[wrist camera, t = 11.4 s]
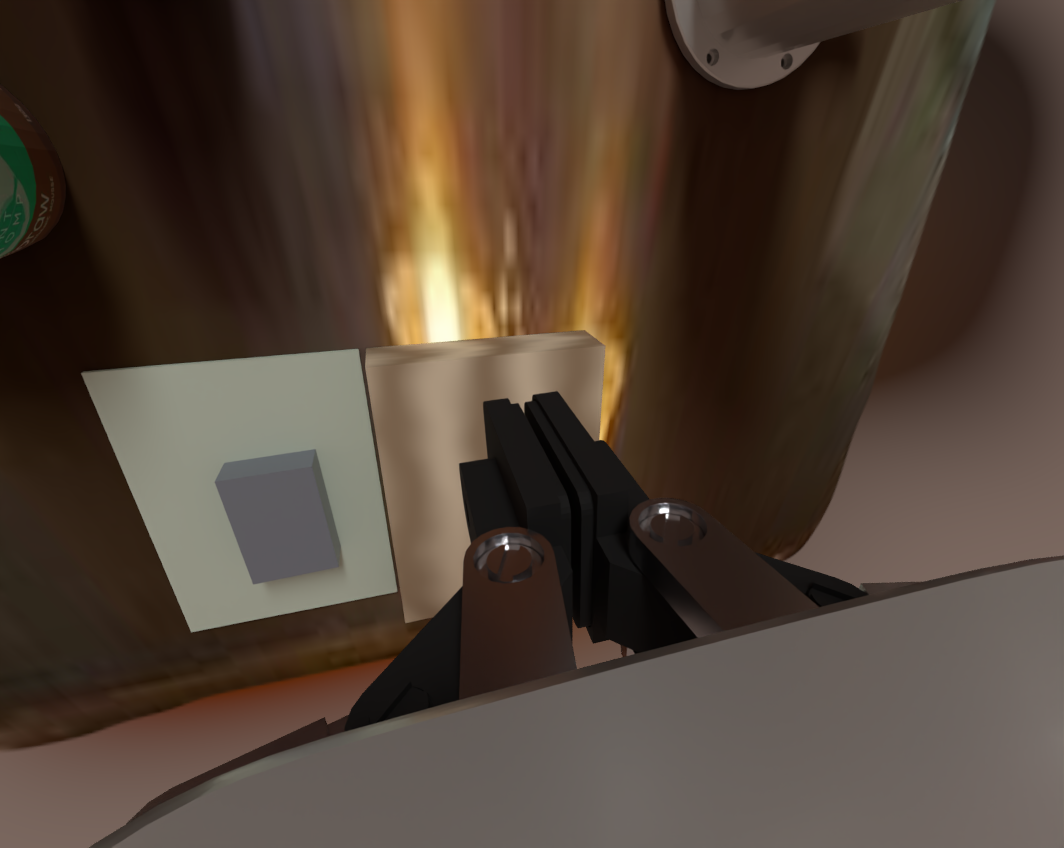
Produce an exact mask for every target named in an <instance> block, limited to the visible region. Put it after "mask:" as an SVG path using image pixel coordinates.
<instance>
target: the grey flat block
mask: <svg viewBox="0 0 1064 848" xmlns="http://www.w3.org/2000/svg"><path fill="white" fill-rule="evenodd" d="M215 485H216V487H217V490H218V493H219V495H220V498H221V501H222V503H223V506H224V508H225V511H226V514H227V516H228V519H229V522H230V524H231V527H232V530H233V532H234V535H235V538H236V540H237V543H238V546H239V548H240V551H241V554H242V556H243V559H244V562H245V564H246V567H247V570H248V572H249V575H250V577H251V580H252V583H253V585H254V584H259V583H264V582H269V581H273V580H278V579H283V578H288V577H293V576H298V575H303V574H308V573H313V572H318V571H323V570H328V569H332V568H337V567H339V561H340V549H341V545H340V541H339V537H338V534H337V530H336V526H335V522H334V518H333V514H332V510H331V507H330V503H329V499H328V495H327V491H326V487H325V483H324V480H323V476H322V472H321V468H320V464H319V460H318V456H317V453H316V449H313V450H306V451H299V452H293V453H286V454H280V455H273V456H266V457H260V458H253V459H246V460H240V461H233V462H227V463H224V464H223V466H222V468H221V470H220V472H219V474H218V476H217V478H216V480H215Z"/></svg>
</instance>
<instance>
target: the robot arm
mask: <svg viewBox="0 0 1064 848" xmlns="http://www.w3.org/2000/svg"><path fill="white" fill-rule="evenodd" d="M958 1H962V0H665V5H666V12H667V16H668V19H669V23H670V26H671V29H672V32H673V36H674V38H675V40H676V42H677V44H678V46H679V48H680V50H681V52H682V54H683V55H684V57H685V58H686V59H687V60H688V62H689V63H690V64H691V66H692V67H693V68H694V69H695V70H696V71H697V72H698V73H699V74H701V75H702V76H703V77H704V78H705V79H707V80H708V81H710V82H712V83H714V84H716V85H718V86H721V87H724V88H729V89H735V90H743V89H754V88H758V87H761V86H765V85H769V84H772V83H774V82H776V81H778V80H780V79H782V78H784V77H786V76H787V75H789V74H790V73H791V72H793V71H794V70H795V69H797V68H798V67H799V66H800V65H801V64H802V63H803V62H804V61H805V60H806V59H807V58H808V57H809V56H810V55H811V54H812V53H813V52H814V51H815V49H816V48H817V46H818V45H819V43H820V42H821V41H824V40H828V39H831V38H835V37H838V36H842V35H845V34H848V33H852V32H855V31H859V30H862V29H866V28H869V27H872V26H876V25H879V24H883V23H886V22H890V21H893V20H897V19H900V18H903V17H907V16H910V15H914V14H917V13H921V12H924V11H927V10H931V9H934V8H938V7H941V6H945V5H948V4H952V3H955V2H958ZM707 59H708V61H707ZM483 413H484V424H485V435H486V446H487V457H488V459H482V460H475V461H469V462H463V463H459V472H460V480H461V488H462V496H463V503H464V510H465V516H466V522H467V527H468V532H469V537H470V542H471V544H470V546H469V547H468V549H467V550H466V552H465V556H464V560H463V586H462V587H461V588H460V589H459V590H458V591H457V592H456V593H455V595H454V596H453V597H452V598H451V599H450V600H449V601H448V602H447V603H446V604H445V605H444V606H443V607H442V609H441V610H440V611H439V612H438V613H437V614H436V615H435V616H434V617H433V618H432V619H431V620H430V621H429V623H428V624H427V625H426V626H425V627H424V628H423V629H422V630H421V631H420V632H419V633H418V634H417V635H416V637H415V638H414V639H413V640H412V641H411V642H410V643H409V644H408V645H407V646H406V647H405V648H404V649H403V651H402V652H401V653H400V654H399V655H398V656H397V657H396V658H395V659H394V660H393V662H391V663H390V665H389V666H388V667H387V668H386V669H385V670H384V671H383V672H382V673H381V674H380V675H379V676H378V677H377V679H376V680H375V681H374V682H373V683H372V684H371V685H370V686H369V687H368V688H367V689H366V690H365V692H364V693H363V694H362V695H361V696H360V698H359V699H358V701H357V702H356V703H355V705H354V706H353V707H352V709H351V712H350V714H349V715H348V716H345V717H343V718H341V719H339V720H337V721H335V722H332V723H330V724H328V725H327V723H326V720H325V717H324V718H322V719H320V720H318V721H316V722H313V723H311V724H309V725H307V726H305V727H302V728H300V729H298V730H296V731H294V732H292V733H290V734H287V735H285V736H283V737H281V738H279V739H277V740H274V741H272V742H270V743H268V744H266V745H264V746H261V747H259V748H257V749H255V750H253V751H251V752H249V753H246V754H244V755H242V756H240V757H238V758H236V759H233V760H231V761H229V762H227V763H225V764H222V765H220V766H218V767H216V768H214V769H212V770H209V771H207V772H205V773H203V774H201V775H199V776H197V777H194V778H192V779H190V780H188V781H186V782H184V783H181V784H179V785H177V786H175V787H173V788H171V789H169V790H168V791H166V792H164V793H163V794H162V795H160V796H158V797H156V798H155V799H153V800H151V801H150V802H149V803H147V804H146V805H145V806H144V807H143V808H142V809H141V810H140V811H139V812H138V813H137V814H136V815H135V816H134V817H133V818H132V819H131V820H130V821H129V822H128V823H127V824H126V825H125V826H123V827H121V828H120V829H118V830H116V831H115V832H113V833H111V834H110V835H108V836H106V837H105V838H103V839H102V840H100V841H98V842H96V843H95V844H93V845H92V846H91V847H89V848H1064V556H1056V557H1046V558H1037V559H1029V560H1024V561H1018V562H1014V563H1009V564H1004V565H998V566H992V567H987V568H981V569H977V570H972V571H968V572H964V573H959V574H955V575H950V576H946V577H942V578H938V579H933V580H929V581H924V582H897V583H896V582H895V583H863V584H861V585H860V587H859V588H857V587H855V586H854V585H852V584H850V583H847V582H845V581H842V580H840V579H837V578H835V577H831V576H828V575H825V574H822V573H819V572H815V571H813V570H809V569H806V568H803V567H800V566H797V565H793V564H790V563H787V562H784V561H781V560H778V559H774V558H771V557H768V556H765V555H762V554H758V553H755V552H754V551H752V550H751V549H750V548H749V547H748V546H746V545H745V544H744V543H743V542H742V541H741V540H739V539H738V538H737V537H736V536H735V535H733V534H732V533H731V532H730V531H729V530H728V529H726V528H725V527H724V526H723V525H722V524H721V523H719V522H718V521H717V520H716V519H715V518H713V517H712V516H711V515H710V514H709V513H708V512H706V511H705V510H703V509H702V508H700V507H699V506H697V505H695V504H692V503H690V502H687V501H684V500H679V499H674V498H656V499H651V500H650V499H649V498H648V497H647V495H646V494H645V493H644V491H643V490H642V489H641V488H640V486H639V485H638V484H637V482H636V481H635V480H634V478H633V477H632V476H631V475H630V473H629V472H628V471H627V469H626V468H625V467H624V465H623V464H622V463H621V461H620V460H619V459H618V458H617V456H616V455H615V454H614V452H613V451H612V450H611V448H610V447H609V446H608V445H607V443H606V442H605V441H603V440H599V441H594V440H593V439H592V437H591V436H590V435H589V433H588V432H587V430H586V429H585V428H584V426H583V425H582V424H581V422H580V421H579V420H578V418H577V417H576V415H575V414H574V413H573V411H572V410H571V409H570V407H569V406H568V404H567V403H566V402H565V400H564V399H563V398H562V396H561V395H560V393H559V392H558V391H555V392H547V393H540V394H534V395H533V396H532V401H529V402H525V403H524V412H523V410H522V409H521V407H520V405H519V403H515V404H511V402H510V400H509V399H508V398H504V399H497V400H490V401H484V402H483ZM572 617H573V620H574V622H575V624H576V626H577V627H578V628H582V627H586V628H587V631H588V633H589V635H590V638H591V640H592V642H593V643H597V642H602V641H606V640H612V641H614V642H616V643H618V644H620V645H621V654H622V656H623V657H622V658H618V659H614V660H610V661H606V662H603V663H599V664H595V665H591V666H587V667H583V668H580V669H577V667H576V662H575V656H574V652H573V646H572Z"/></svg>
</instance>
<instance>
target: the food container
mask: <svg viewBox="0 0 1064 848" xmlns="http://www.w3.org/2000/svg"><path fill="white" fill-rule="evenodd" d="M65 199H66V183H65V178H64V173H63V168H62V165H61V162H60V160H59V157H58V154H57V152H56V150H55V148H54V146H53V144H52V142H51V141H50V139H49V137H48V135H47V134H46V132H45V131H44V129H43V128H42V127H41V125H40V124H39V122H38V121H37V120H36V118H35V117H34V116H33V115H32V114H31V113H30V112H29V111H28V109H27V108H26V107H25V106H24V105H23V104H22V103H21V102H20V101H19V100H18V99H17V98H16V97H15V96H14V95H12V94H11V93H10V92H9V91H8V90H7V89H6V88H5V87H3V86H2V85H1V84H0V258H3V257H5V256H8V255H10V254H13V253H15V252H18V251H20V250H22V249H24V248H26V247H28V246H30V245H32V244H34V243H36V242H38V241H40V240H42V239H44V238H45V237H46V236H47V235H48V234H49V233H50V231H51V230H52V229H53V228H54V227H55V226H56V224H57V223H58V222H59V219H60V217H61V215H62V212H63V210H64V204H65Z"/></svg>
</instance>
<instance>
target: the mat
mask: <svg viewBox="0 0 1064 848" xmlns="http://www.w3.org/2000/svg"><path fill="white" fill-rule="evenodd" d="M81 374H82V377H83V379H84V381H85V384H86V386H87V388H88V391H89V393H90V396H91V398H92V400H93V403H94V405H95V407H96V410H97V412H98V414H99V417H100V419H101V421H102V424H103V426H104V428H105V431H106V433H107V435H108V438H109V440H110V442H111V445H112V447H113V449H114V452H115V454H116V457H117V459H118V461H119V464H120V466H121V468H122V471H123V473H124V475H125V478H126V480H127V482H128V485H129V487H130V489H131V492H132V494H133V496H134V499H135V501H136V503H137V506H138V508H139V511H140V513H141V515H142V518H143V520H144V522H145V525H146V527H147V529H148V532H149V534H150V536H151V539H152V541H153V543H154V546H155V548H156V550H157V553H158V555H159V557H160V560H161V562H162V565H163V567H164V569H165V572H166V574H167V576H168V579H169V581H170V583H171V586H172V588H173V590H174V593H175V595H176V597H177V600H178V602H179V604H180V607H181V609H182V611H183V614H184V616H185V619H186V621H187V623H188V626H189V628H190V630H191V632H195V631H200V630H205V629H210V628H216V627H221V626H226V625H231V624H236V623H241V622H246V621H251V620H256V619H261V618H266V617H271V616H277V615H282V614H287V613H292V612H297V611H302V610H307V609H312V608H317V607H322V606H327V605H333V604H338V603H343V602H348V601H353V600H358V599H363V598H368V597H373V596H378V595H383V594H389V593H394V592H397V585H396V579H395V572H394V566H393V560H392V554H391V547H390V541H389V535H388V529H387V523H386V516H385V510H384V504H383V498H382V491H381V485H380V479H379V473H378V467H377V460H376V454H375V448H374V442H373V435H372V429H371V423H370V417H369V411H368V404H367V398H366V392H365V386H364V379H363V373H362V367H361V361H360V355H359V349H351V350H339V351H327V352H314V353H302V354H290V355H278V356H266V357H253V358H241V359H229V360H217V361H205V362H192V363H180V364H168V365H156V366H144V367H131V368H119V369H107V370H95V371H83V372H82V373H81ZM313 449H316V453H317V456H318V460H319V464H320V468H321V472H322V476H323V480H324V483H325V487H326V491H327V495H328V499H329V503H330V507H331V510H332V514H333V518H334V522H335V526H336V530H337V534H338V537H339V541H340V545H341V549H340V561H339V567H337V568H332V569H328V570H323V571H318V572H313V573H308V574H303V575H298V576H293V577H288V578H283V579H278V580H273V581H269V582H264V583H259V584H254V585H253V583H252V580H251V577H250V575H249V572H248V570H247V567H246V564H245V562H244V559H243V556H242V554H241V551H240V548H239V546H238V543H237V540H236V538H235V535H234V532H233V530H232V527H231V524H230V522H229V519H228V516H227V514H226V511H225V508H224V506H223V503H222V501H221V498H220V495H219V493H218V490H217V487H216V485H215V480H216V478H217V476H218V474H219V472H220V470H221V468H222V466H223V464H224V463H227V462H233V461H240V460H246V459H253V458H260V457H266V456H273V455H280V454H286V453H293V452H299V451H306V450H313Z"/></svg>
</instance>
